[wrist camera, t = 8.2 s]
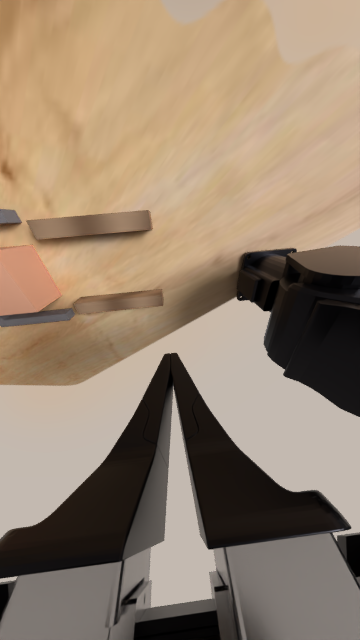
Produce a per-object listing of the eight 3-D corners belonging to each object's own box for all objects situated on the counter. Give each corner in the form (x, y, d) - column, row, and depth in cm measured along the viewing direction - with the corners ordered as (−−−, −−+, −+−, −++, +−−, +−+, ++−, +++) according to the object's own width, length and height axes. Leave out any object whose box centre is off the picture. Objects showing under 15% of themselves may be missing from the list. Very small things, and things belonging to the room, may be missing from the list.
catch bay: (14, 210, 14) (-1, 208, 13) (75, 314, 21) (69, 320, 19) (-82, 218, 14) (-107, 217, 12) (11, 320, 20) (1, 327, 19)
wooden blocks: (150, 211, 15) (148, 210, 13) (163, 299, 20) (163, 305, 19) (41, 220, 14) (25, 220, 13) (85, 306, 20) (78, 314, 18)
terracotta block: (33, 244, 16) (-8, 251, 12) (62, 294, 19) (37, 311, 15) (-23, 249, 15) (-83, 257, 12) (17, 299, 19) (-20, 317, 15)
